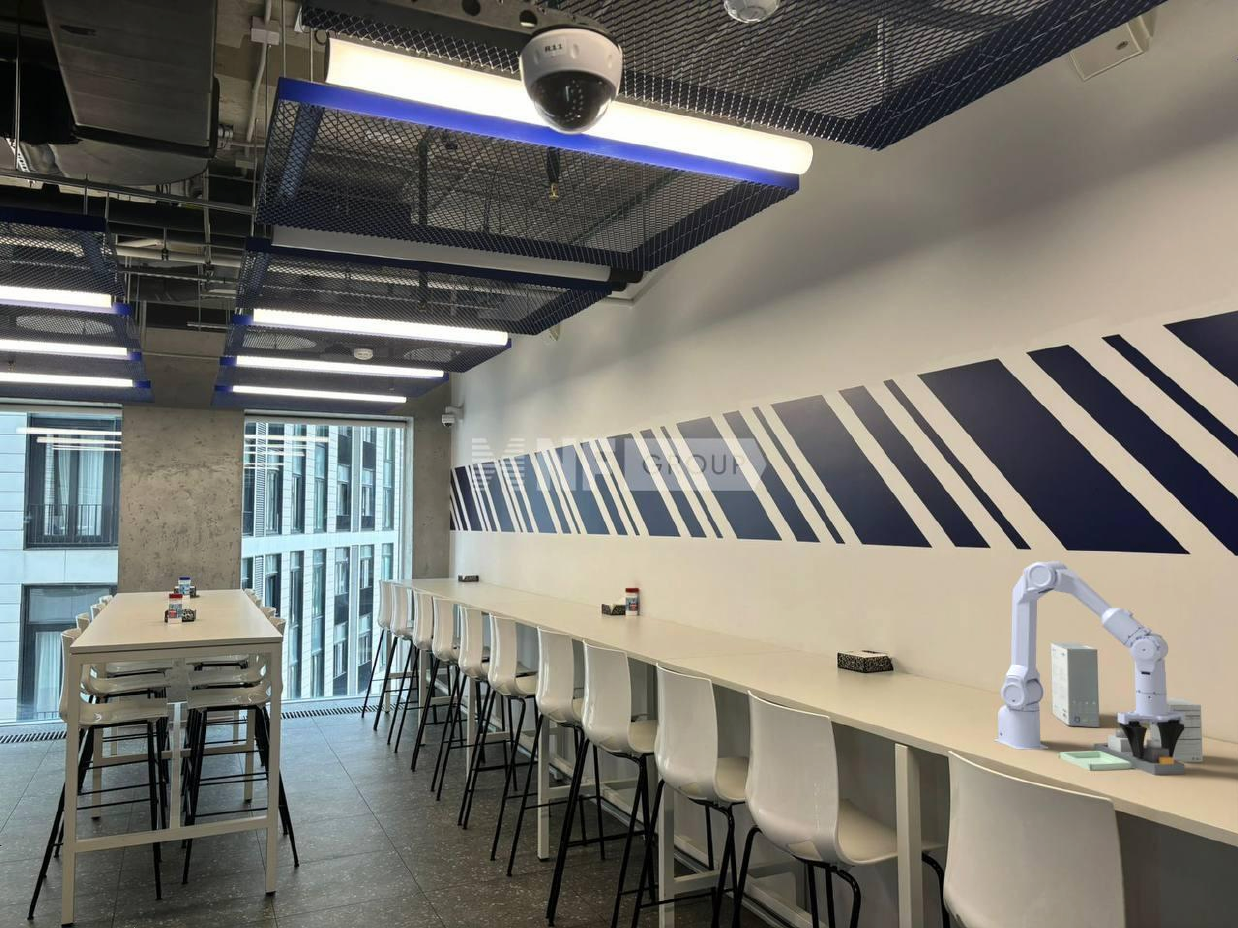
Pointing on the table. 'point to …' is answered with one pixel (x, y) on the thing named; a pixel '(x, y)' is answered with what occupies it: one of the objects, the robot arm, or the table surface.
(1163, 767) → the power strip
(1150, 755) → the plug
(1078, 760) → the tray
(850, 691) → the table surface
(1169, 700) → the supplement box
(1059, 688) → the hard drive box
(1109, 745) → the twin plug
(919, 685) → the table surface
